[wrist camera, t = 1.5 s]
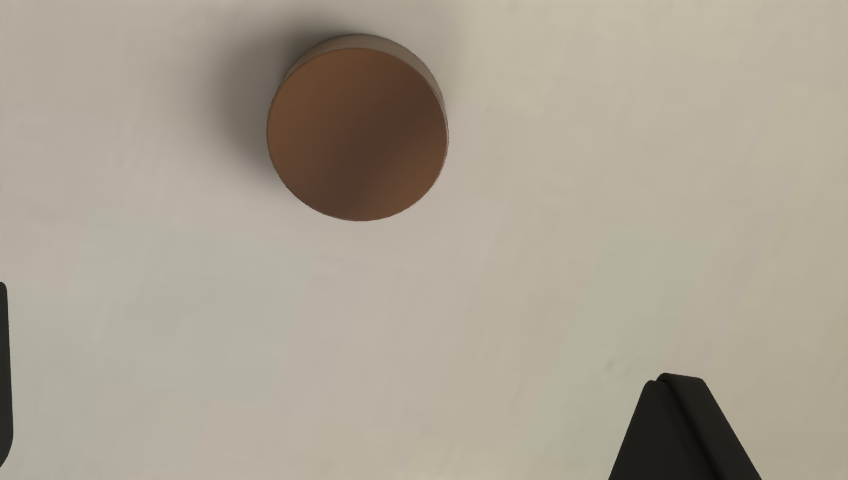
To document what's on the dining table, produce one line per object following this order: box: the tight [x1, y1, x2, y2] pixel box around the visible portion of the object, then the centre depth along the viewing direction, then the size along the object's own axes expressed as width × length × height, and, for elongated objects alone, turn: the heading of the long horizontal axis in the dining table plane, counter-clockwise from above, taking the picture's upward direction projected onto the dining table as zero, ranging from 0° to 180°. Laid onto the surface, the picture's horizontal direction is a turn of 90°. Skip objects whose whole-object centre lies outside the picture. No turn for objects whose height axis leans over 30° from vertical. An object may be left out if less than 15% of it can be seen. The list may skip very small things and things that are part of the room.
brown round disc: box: [266, 34, 449, 221], centre depth 22 cm, size 5×5×2 cm
